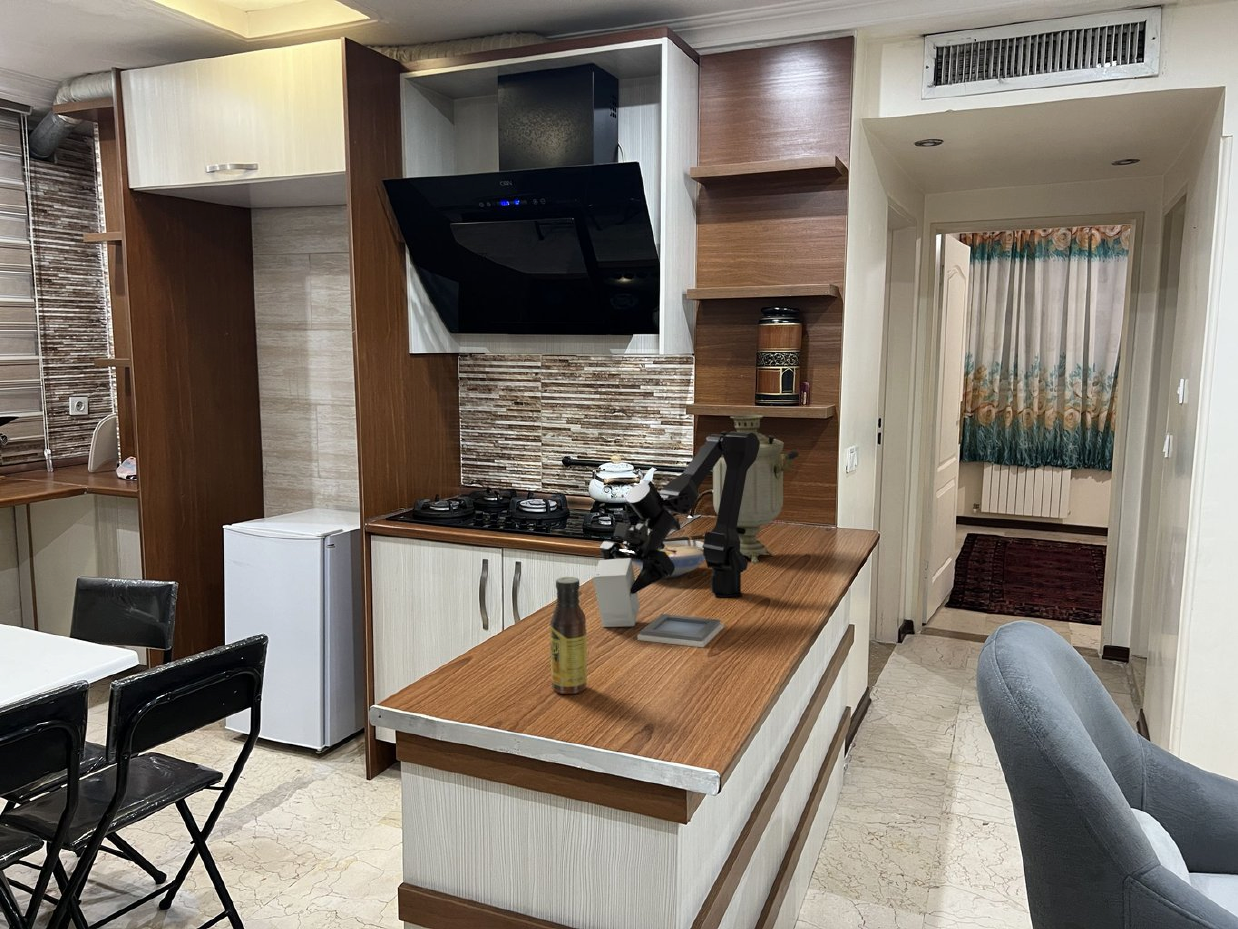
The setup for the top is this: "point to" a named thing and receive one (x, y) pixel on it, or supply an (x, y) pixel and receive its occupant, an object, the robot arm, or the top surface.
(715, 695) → the top surface
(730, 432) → the robot arm
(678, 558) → the ramen bowl
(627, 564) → the supplement box
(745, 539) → the samovar
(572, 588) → the sauce bottle
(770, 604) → the top surface
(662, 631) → the grey square tray
